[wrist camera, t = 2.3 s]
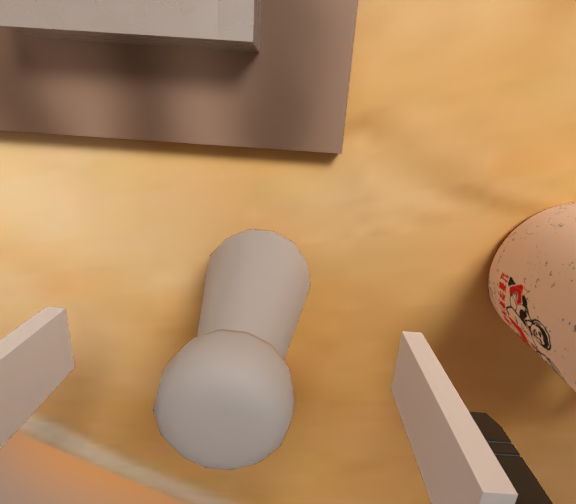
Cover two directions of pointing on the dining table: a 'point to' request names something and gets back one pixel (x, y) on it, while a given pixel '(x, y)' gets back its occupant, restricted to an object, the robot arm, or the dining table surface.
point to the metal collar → (140, 22)
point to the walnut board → (191, 84)
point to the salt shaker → (237, 356)
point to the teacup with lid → (540, 286)
